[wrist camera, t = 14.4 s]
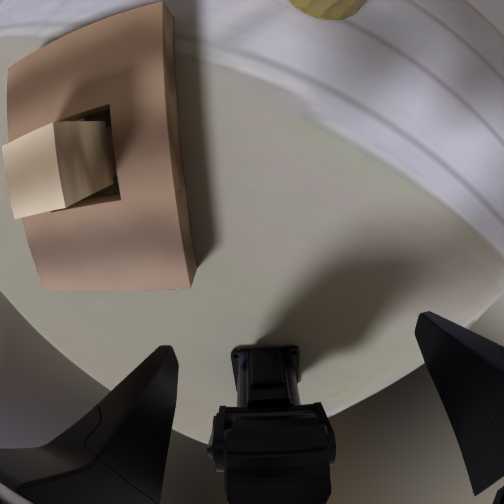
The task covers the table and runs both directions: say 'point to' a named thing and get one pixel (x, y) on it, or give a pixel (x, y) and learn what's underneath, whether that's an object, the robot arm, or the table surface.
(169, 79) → the board
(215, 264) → the table surface
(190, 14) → the table surface
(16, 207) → the peg
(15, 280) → the table surface
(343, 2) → the vase
